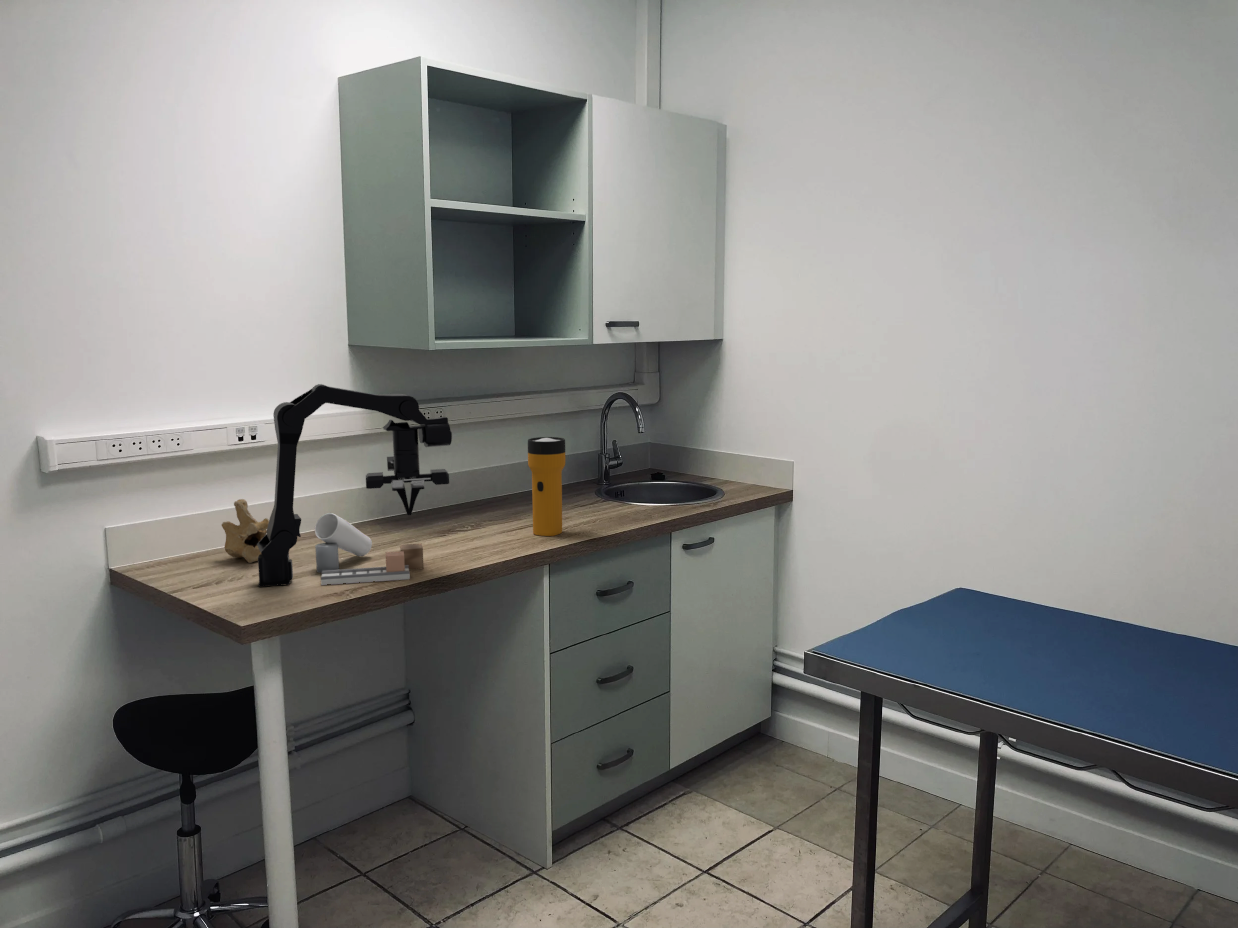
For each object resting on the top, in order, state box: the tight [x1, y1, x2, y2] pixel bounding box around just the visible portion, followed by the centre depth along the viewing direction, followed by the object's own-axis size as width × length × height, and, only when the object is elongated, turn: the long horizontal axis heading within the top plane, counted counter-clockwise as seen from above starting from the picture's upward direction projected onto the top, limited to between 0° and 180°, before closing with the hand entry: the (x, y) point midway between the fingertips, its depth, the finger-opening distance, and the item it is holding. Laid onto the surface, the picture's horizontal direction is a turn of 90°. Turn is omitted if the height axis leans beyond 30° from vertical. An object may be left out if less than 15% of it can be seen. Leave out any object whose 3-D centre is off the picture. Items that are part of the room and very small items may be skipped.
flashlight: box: [527, 436, 566, 537], centre depth 260 cm, size 10×26×10 cm
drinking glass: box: [314, 512, 373, 557], centre depth 232 cm, size 7×7×15 cm
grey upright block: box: [315, 542, 340, 574], centre depth 225 cm, size 5×5×6 cm
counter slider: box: [385, 550, 405, 572], centre depth 219 cm, size 4×4×4 cm
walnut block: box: [399, 543, 425, 571], centre depth 228 cm, size 5×5×5 cm
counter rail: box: [320, 565, 411, 586], centre depth 218 cm, size 19×6×2 cm, turn 104°
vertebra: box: [221, 498, 269, 564], centre depth 234 cm, size 9×14×15 cm, turn 47°
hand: (409, 515), depth 227 cm, fingers closed
